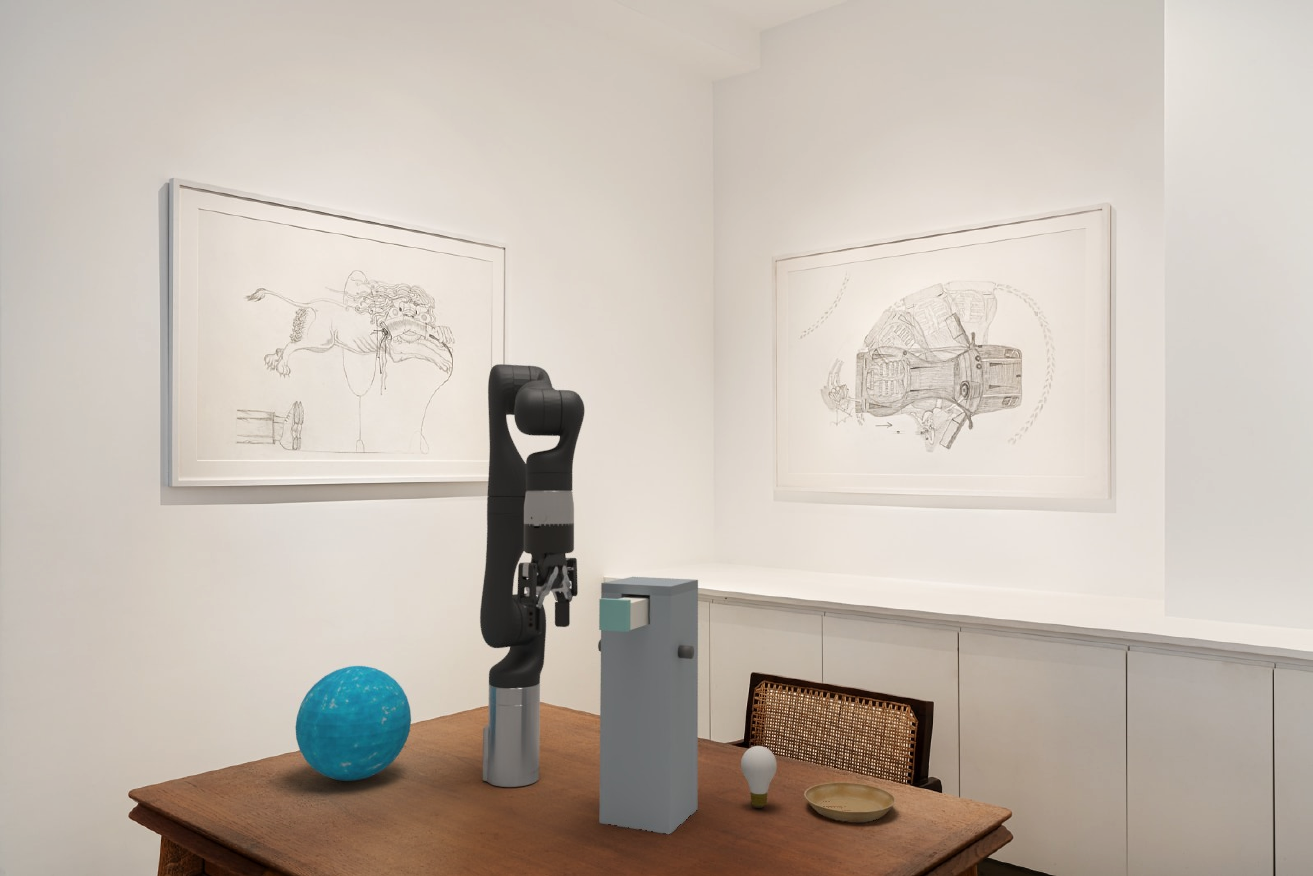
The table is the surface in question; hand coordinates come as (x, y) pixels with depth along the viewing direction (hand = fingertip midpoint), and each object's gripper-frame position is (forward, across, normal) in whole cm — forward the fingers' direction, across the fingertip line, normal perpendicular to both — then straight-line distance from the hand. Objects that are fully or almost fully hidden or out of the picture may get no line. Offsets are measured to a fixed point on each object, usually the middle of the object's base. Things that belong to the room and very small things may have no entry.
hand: (548, 630), depth 138 cm
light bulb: (+32, -29, +24) cm, 49 cm away
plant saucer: (+32, -33, +38) cm, 60 cm away
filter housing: (+32, -18, +9) cm, 37 cm away
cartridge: (0, -12, +9) cm, 15 cm away
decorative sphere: (+31, -15, -48) cm, 59 cm away
